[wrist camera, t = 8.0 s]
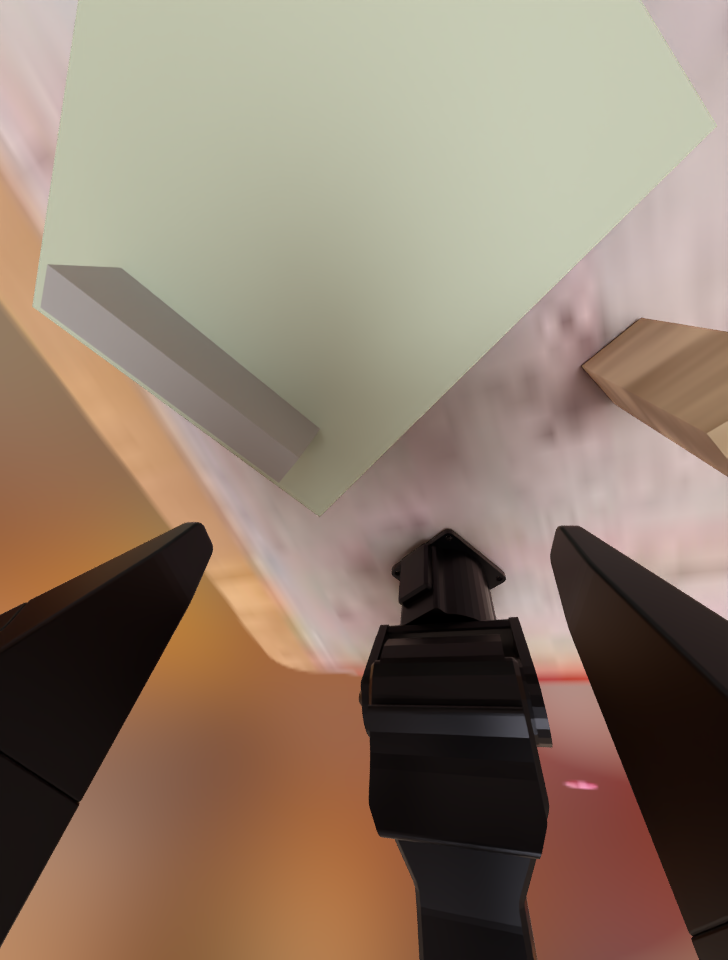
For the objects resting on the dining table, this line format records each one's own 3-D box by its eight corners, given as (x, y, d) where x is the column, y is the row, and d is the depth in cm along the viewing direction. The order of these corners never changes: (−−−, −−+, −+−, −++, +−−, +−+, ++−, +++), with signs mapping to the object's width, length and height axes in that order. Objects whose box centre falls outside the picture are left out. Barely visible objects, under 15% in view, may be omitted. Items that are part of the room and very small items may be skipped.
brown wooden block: (675, 361, 16) (893, 430, 9) (614, 404, 18) (756, 495, 10) (641, 317, 16) (845, 351, 8) (581, 366, 17) (706, 433, 9)
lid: (691, 139, 10) (836, 62, 6) (324, 506, 19) (302, 555, 15) (223, -598, 6) (-41, -1746, 3) (54, 305, 15) (-52, 311, 12)
